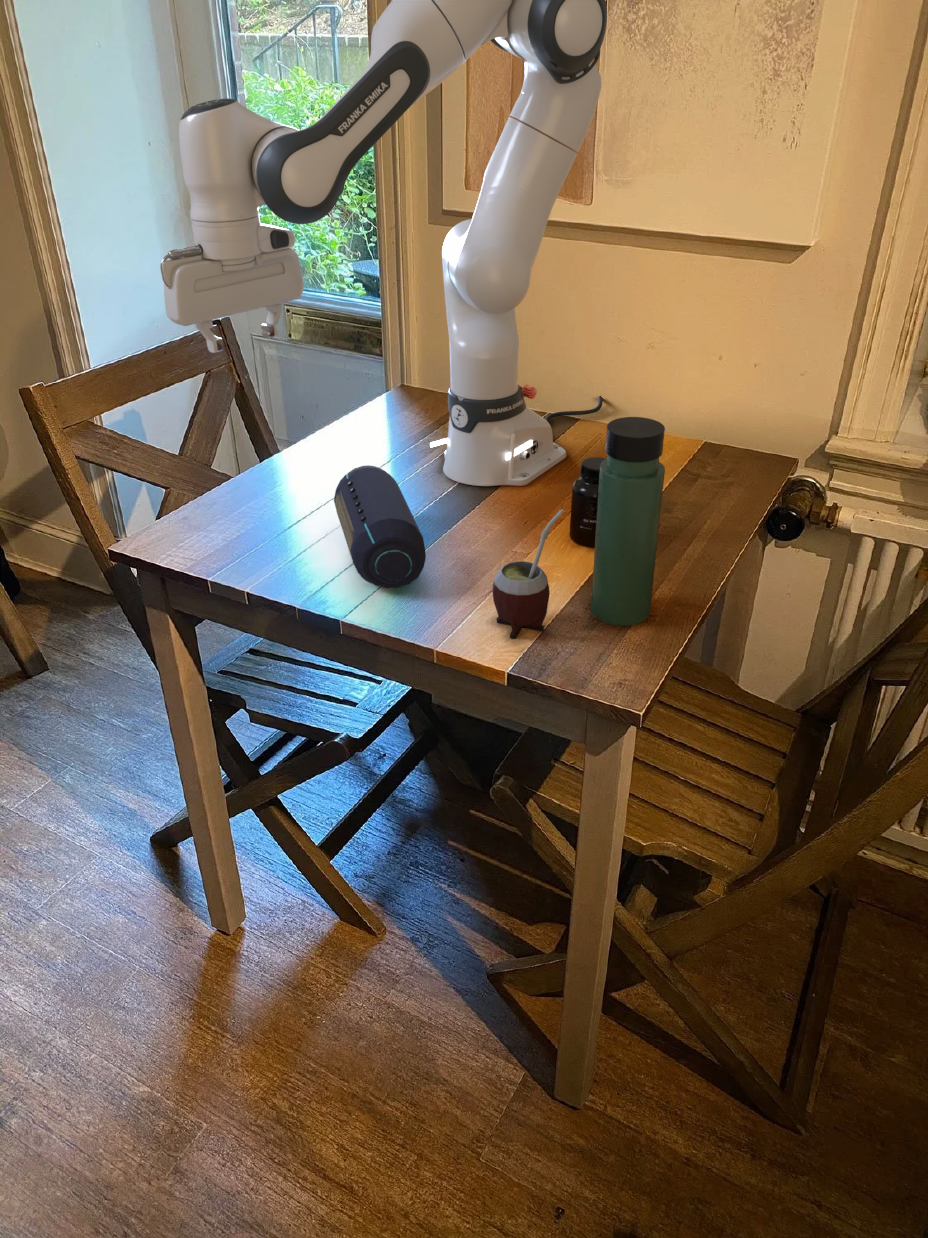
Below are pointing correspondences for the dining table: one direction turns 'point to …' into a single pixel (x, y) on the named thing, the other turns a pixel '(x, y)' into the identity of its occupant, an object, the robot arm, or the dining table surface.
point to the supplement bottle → (585, 503)
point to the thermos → (628, 521)
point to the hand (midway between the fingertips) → (243, 343)
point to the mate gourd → (523, 591)
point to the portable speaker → (379, 528)
